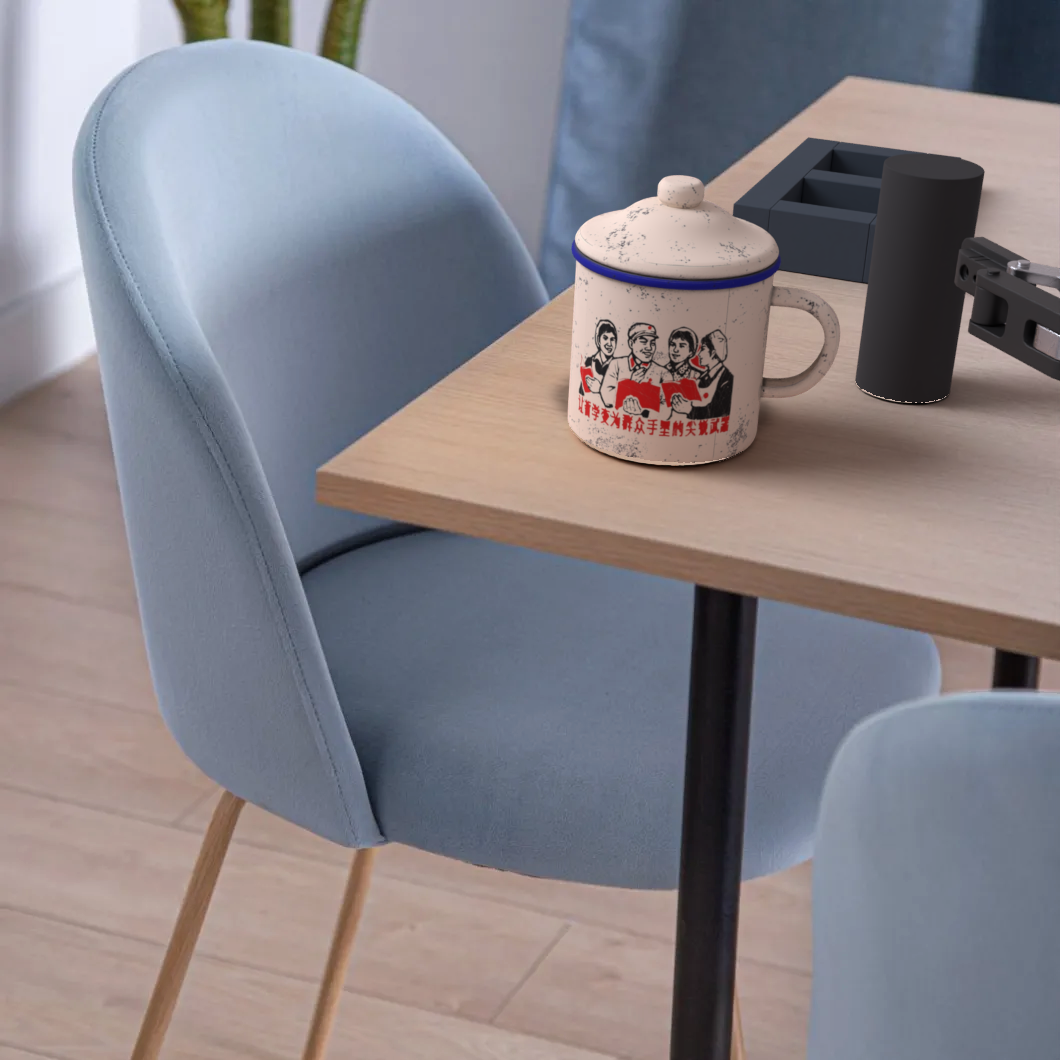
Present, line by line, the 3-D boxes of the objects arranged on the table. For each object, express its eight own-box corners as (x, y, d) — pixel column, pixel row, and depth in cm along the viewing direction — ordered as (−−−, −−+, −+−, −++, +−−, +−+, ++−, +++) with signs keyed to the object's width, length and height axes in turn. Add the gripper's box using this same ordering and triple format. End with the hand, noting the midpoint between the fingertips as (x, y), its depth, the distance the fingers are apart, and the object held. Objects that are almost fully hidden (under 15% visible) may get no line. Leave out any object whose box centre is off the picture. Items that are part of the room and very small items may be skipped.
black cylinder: (928, 368, 89) (961, 153, 84) (964, 403, 85) (1000, 179, 80) (842, 370, 88) (869, 153, 83) (874, 405, 84) (905, 179, 79)
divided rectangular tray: (953, 210, 116) (961, 157, 114) (900, 288, 100) (908, 229, 99) (802, 188, 119) (807, 137, 117) (727, 261, 104) (733, 203, 102)
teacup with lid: (543, 457, 77) (556, 197, 72) (581, 384, 85) (595, 145, 80) (819, 492, 75) (852, 226, 70) (831, 413, 83) (862, 170, 78)
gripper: (1517, 273, 62) (1207, 157, 75) (1186, 304, 57) (918, 174, 70) (1458, 469, 65) (1171, 323, 78) (1140, 514, 60) (893, 351, 74)
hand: (1052, 253), depth 74 cm, fingers open, 8 cm apart
